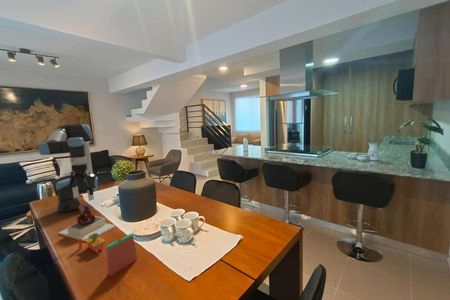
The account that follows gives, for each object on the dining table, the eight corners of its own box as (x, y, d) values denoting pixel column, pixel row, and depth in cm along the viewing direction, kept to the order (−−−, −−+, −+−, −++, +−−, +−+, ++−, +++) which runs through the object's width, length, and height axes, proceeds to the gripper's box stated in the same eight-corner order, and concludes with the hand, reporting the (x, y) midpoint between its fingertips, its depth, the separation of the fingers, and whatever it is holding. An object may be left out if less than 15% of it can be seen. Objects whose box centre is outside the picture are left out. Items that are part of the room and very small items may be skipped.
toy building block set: (110, 276, 89) (106, 245, 87) (75, 250, 109) (71, 224, 107) (137, 259, 99) (134, 231, 98) (100, 238, 119) (97, 215, 117)
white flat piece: (88, 220, 142) (87, 213, 142) (115, 226, 132) (115, 218, 131) (58, 233, 126) (57, 225, 125) (87, 242, 116) (86, 233, 115)
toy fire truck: (85, 227, 122) (82, 210, 121) (75, 222, 129) (73, 206, 128) (97, 222, 128) (95, 205, 127) (87, 217, 135) (85, 202, 133)
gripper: (58, 164, 125) (64, 198, 128) (86, 166, 115) (91, 203, 118) (72, 161, 132) (76, 194, 135) (99, 163, 122) (103, 198, 125)
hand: (83, 198), depth 127 cm, fingers open, 13 cm apart
